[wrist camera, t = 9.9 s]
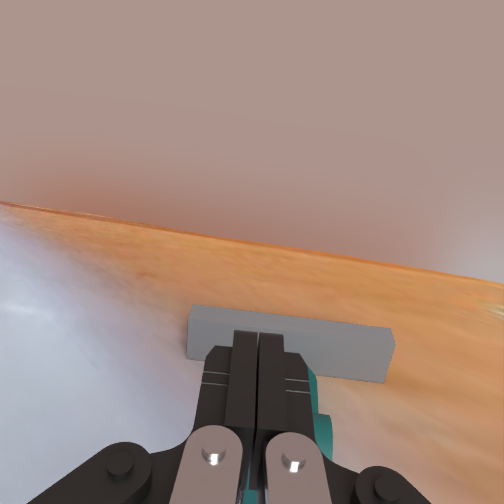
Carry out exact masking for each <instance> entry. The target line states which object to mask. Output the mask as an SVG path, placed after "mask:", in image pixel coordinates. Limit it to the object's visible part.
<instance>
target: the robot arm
mask: <svg viewBox="0 0 504 504" xmlns="http://www.w3.org/2000/svg"><path fill="white" fill-rule="evenodd" d="M257 340H258V345H257ZM248 470H249V486H248V490H257V504H431V503H430V502H429V501H428V500H427V499H426V498H425V497H424V496H423V495H422V494H421V493H420V492H419V491H418V490H417V489H416V488H415V487H413V486H412V485H411V484H410V483H409V482H408V481H407V480H406V479H405V478H404V477H403V476H402V475H400V474H399V473H397V472H396V471H394V470H392V469H389V468H386V467H382V466H372V467H368V468H366V469H364V470H363V471H362V472H360V474H359V473H356V472H354V471H351V470H349V469H346V468H344V467H341V466H339V465H337V464H335V463H334V462H332V461H331V460H329V459H328V458H327V457H326V456H325V455H324V454H323V453H322V452H321V450H320V449H319V447H318V445H317V443H316V439H315V433H314V423H313V414H312V404H311V395H310V385H309V375H308V366H307V364H306V363H305V361H304V360H303V358H302V357H301V355H300V353H293V352H284V336H283V334H274V333H264V332H259V338H258V332H252V331H242V330H234V336H233V346H232V347H229V346H218V345H215V346H214V347H213V348H212V350H211V351H210V352H209V353H208V355H207V356H206V359H205V365H204V371H203V376H202V382H201V387H200V393H199V399H198V405H197V410H196V416H195V422H194V426H193V430H192V432H191V434H190V435H189V437H188V438H187V439H186V440H185V441H184V442H183V443H181V444H180V445H178V446H176V447H174V448H172V449H169V450H166V451H161V452H156V453H151V454H149V453H148V452H147V451H146V450H145V449H144V448H143V447H142V446H140V445H138V444H135V443H131V442H119V443H115V444H112V445H109V446H107V447H106V448H104V449H102V450H101V451H100V452H98V453H97V454H95V455H94V456H93V457H91V458H90V459H88V460H87V461H86V462H84V463H83V464H81V465H80V466H79V467H77V468H76V469H74V470H73V471H72V472H70V473H69V474H67V475H66V476H65V477H63V478H62V479H60V480H59V481H58V482H56V483H55V484H53V485H52V486H51V487H49V488H48V489H46V490H45V491H44V492H42V493H41V494H40V495H38V496H37V497H35V498H34V499H33V500H31V501H30V502H28V503H27V504H239V496H240V489H245V490H246V484H247V477H248Z"/></svg>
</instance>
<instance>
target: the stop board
mask: <svg viewBox="0 0 504 504" xmlns="http://www.w3.org/2000/svg"><path fill="white" fill-rule="evenodd" d="M234 330H242V331H252V332H258V338H259V332H264V333H274V334H283V336H284V352H293V353H300V355H301V357H302V358H303V360H304V361H305V363H306V364H307V366H308V367H309V368H310V369H311V370H312V372H313V373H314V375H321V376H329V377H337V378H345V379H353V380H361V381H369V382H377V383H384V380H385V377H386V374H387V371H388V367H389V364H390V361H391V358H392V355H393V351H394V348H395V345H396V344H395V341H394V338H393V334H392V331H391V328H383V327H375V326H366V325H358V324H350V323H342V322H334V321H326V320H318V319H309V318H301V317H293V316H285V315H277V314H269V313H260V312H252V311H244V310H236V309H228V308H220V307H211V306H203V305H195V304H193V305H192V309H191V312H190V315H189V318H188V334H187V359H193V360H201V361H205V359H206V356H207V355H208V353H209V352H210V351H211V350H212V348H213V347H214V346H215V345H218V346H229V347H232V346H233V336H234ZM257 345H258V340H257Z"/></svg>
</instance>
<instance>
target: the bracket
mask: <svg viewBox="0 0 504 504" xmlns="http://www.w3.org/2000/svg"><path fill="white" fill-rule="evenodd" d="M308 375H309V385H310V395H311V404H312V414H313V423H314V433H315V439H316V443H317V445H318V447H319V449H320V450H321V452H322V453H323V454H324V455H325V456H326V457H327V458H328V459H329V460H331V461H332V451H333V433H332V422H331V418H330V416H329V415H324V414H318V395H317V380H316V377H315V375H314V373H313V372H312V370H311V369H310V368H309V367H308ZM248 486H249V470H248V477H247V484H246V490H245V489H244V493H243V501H242V504H257V490H248Z"/></svg>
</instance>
